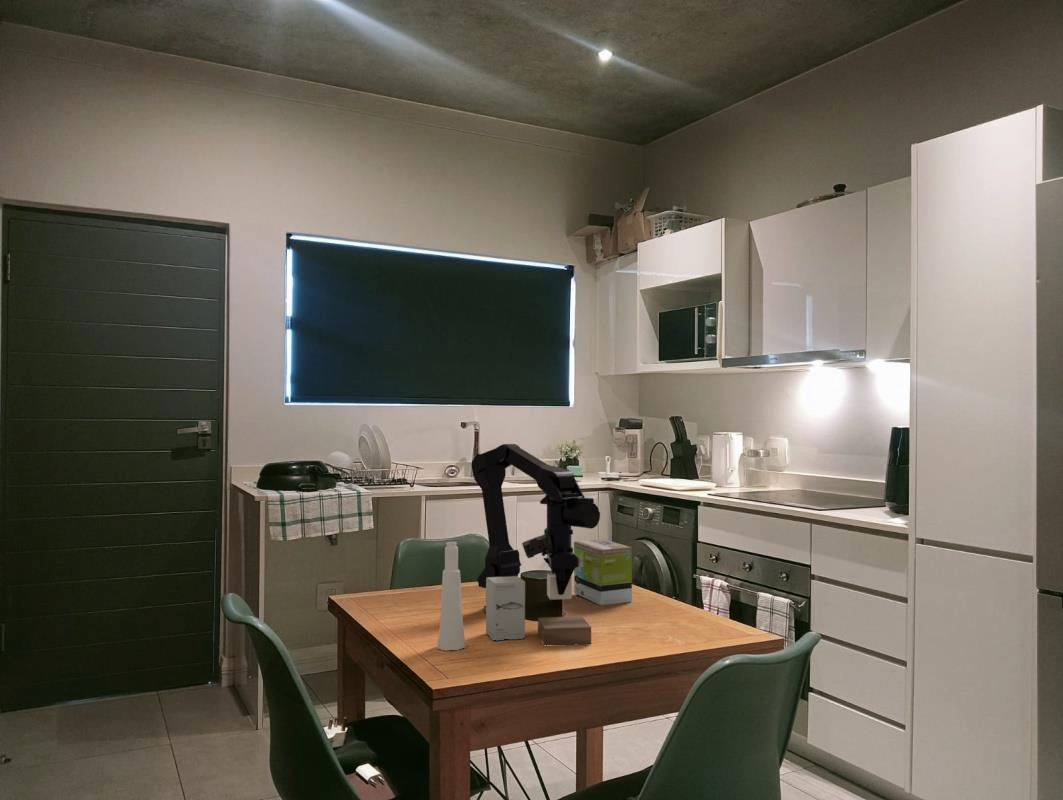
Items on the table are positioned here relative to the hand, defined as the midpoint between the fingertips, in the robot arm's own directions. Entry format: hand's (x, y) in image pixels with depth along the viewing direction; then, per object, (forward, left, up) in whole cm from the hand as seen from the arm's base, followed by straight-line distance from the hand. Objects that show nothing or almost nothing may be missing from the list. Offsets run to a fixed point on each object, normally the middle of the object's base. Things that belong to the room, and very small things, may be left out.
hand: (559, 592), depth 190 cm
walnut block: (+11, -1, -8) cm, 14 cm away
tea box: (-28, +16, -8) cm, 33 cm away
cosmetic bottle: (+15, -25, -8) cm, 30 cm away
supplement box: (+7, -13, -8) cm, 17 cm away
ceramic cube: (0, 0, -1) cm, 1 cm away
